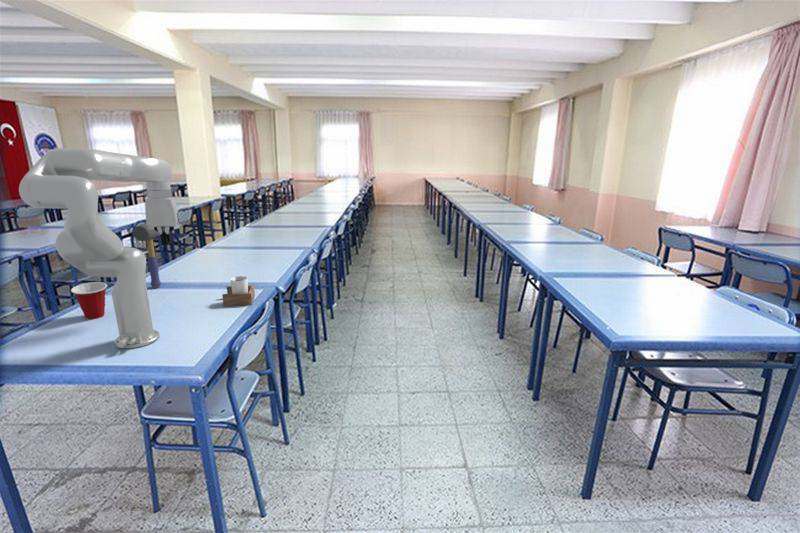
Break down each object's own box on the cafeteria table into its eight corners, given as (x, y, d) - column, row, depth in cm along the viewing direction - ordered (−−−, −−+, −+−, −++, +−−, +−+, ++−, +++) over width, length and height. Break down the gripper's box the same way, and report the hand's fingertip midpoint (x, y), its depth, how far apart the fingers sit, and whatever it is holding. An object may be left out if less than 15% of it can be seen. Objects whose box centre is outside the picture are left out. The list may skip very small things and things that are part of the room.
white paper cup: (245, 297, 178) (243, 275, 175) (252, 301, 173) (250, 278, 170) (229, 300, 174) (227, 278, 171) (236, 305, 169) (234, 282, 166)
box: (252, 304, 170) (251, 293, 168) (223, 306, 167) (222, 294, 166) (255, 295, 180) (254, 284, 179) (228, 297, 178) (227, 286, 176)
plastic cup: (75, 324, 148) (69, 293, 145) (78, 314, 156) (71, 284, 153) (112, 318, 154) (106, 288, 150) (112, 309, 162) (107, 280, 159)
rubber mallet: (157, 292, 183) (147, 225, 174) (140, 292, 182) (129, 225, 174) (171, 283, 195) (162, 220, 186) (155, 283, 194) (145, 220, 186)
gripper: (132, 195, 144) (140, 247, 149) (179, 195, 147) (185, 245, 152) (140, 193, 151) (148, 242, 156) (185, 193, 154) (191, 241, 159)
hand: (166, 244), depth 154 cm, fingers closed
